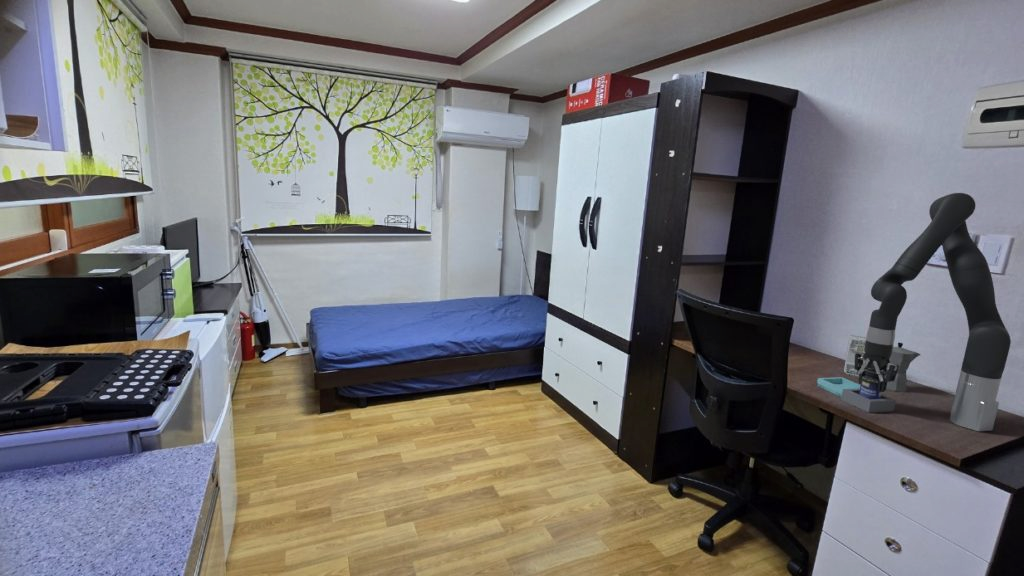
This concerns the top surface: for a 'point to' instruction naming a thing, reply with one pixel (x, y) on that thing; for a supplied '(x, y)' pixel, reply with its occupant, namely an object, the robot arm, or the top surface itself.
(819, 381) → the tray
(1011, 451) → the top surface
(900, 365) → the coffeepot
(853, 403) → the holder
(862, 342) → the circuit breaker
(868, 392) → the pill bottle
